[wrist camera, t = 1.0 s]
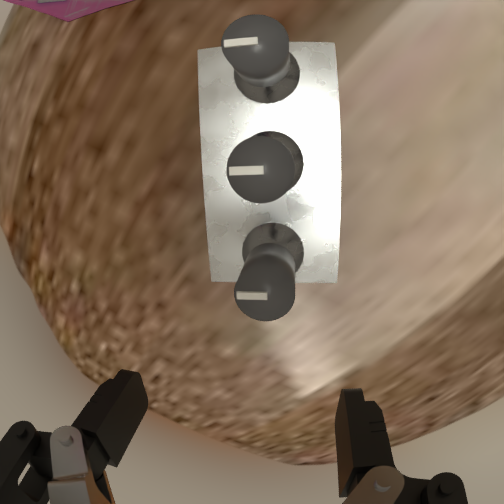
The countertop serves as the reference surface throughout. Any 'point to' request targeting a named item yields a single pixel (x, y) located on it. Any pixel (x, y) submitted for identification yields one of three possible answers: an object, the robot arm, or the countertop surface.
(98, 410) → the robot arm
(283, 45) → the knob
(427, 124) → the countertop surface
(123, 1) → the gum box
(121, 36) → the countertop surface
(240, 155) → the knob mid
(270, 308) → the knob
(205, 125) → the mount plate
